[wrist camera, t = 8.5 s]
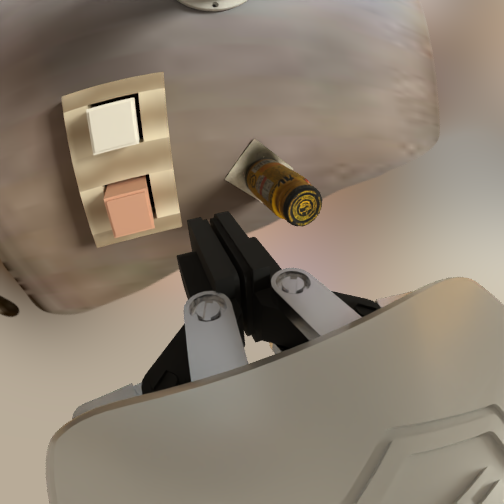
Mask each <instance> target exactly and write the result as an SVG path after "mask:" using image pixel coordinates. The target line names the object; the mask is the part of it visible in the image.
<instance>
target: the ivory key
mask: <svg viewBox="0 0 504 504" xmlns="http://www.w3.org/2000/svg"><path fill="white" fill-rule="evenodd" d="M86 112H87V120H88V126H89V133H90V139H91V144H92V150H93V155H97V154H100V153H104V152H108V151H111V150H115V149H119V148H123V147H127V146H132V145H136V144H139V130H138V122H137V114H136V105H135V98H129V99H125V100H120V101H116V102H112V103H108V104H104V105H100V106H97V107H93V108H90V109H86Z"/></svg>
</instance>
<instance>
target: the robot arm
mask: <svg viewBox="0 0 504 504" xmlns="http://www.w3.org/2000/svg"><path fill="white" fill-rule="evenodd" d="M178 1H179V2H180V3H182V4H184V5H186V6H188V7H191V8H194V9H197V10H203V11H224V10H228V9H232V8H235V7H237V6H240V5H241V4H243V3H245V2H246V1H247V0H178ZM212 5H214V6H215V7H213V6H212ZM187 223H188V230H189V236H190V241H191V247H192V252H189V253H185V254H181V255H177V260H178V265H179V269H180V273H181V277H182V281H183V285H184V288H185V292H186V295H187V298H188V301H187V302H186V304H185V306H184V320H185V324H184V325H183V326H182V328H181V329H180V330H179V332H178V333H177V334H176V336H175V337H174V338H173V339H172V341H171V342H170V343H169V345H168V346H167V347H166V349H165V350H164V351H163V352H162V354H161V355H160V356H159V358H158V359H157V360H156V362H155V363H154V364H153V365H152V367H151V368H150V369H149V371H148V372H147V374H146V375H145V377H144V379H143V380H142V382H141V383H139V384H137V385H135V386H133V384H129V385H127V386H125V387H122V388H120V389H118V390H115V391H113V392H111V393H109V394H106V395H104V396H101V397H99V398H97V399H94V400H92V401H89V402H87V403H85V404H82V405H81V406H79V407H78V408H77V409H76V411H75V412H74V414H73V418H72V420H71V421H69V422H68V423H66V424H65V425H64V426H62V427H61V428H60V429H59V430H58V431H57V432H56V433H55V434H54V436H53V437H52V438H51V440H50V443H49V445H48V449H47V456H46V481H47V492H48V497H49V503H50V504H504V305H503V304H502V303H501V302H500V301H499V300H498V299H497V298H495V297H494V296H493V295H492V294H491V293H490V292H489V291H487V290H486V289H485V288H484V287H482V286H481V285H480V284H478V283H477V282H475V281H474V280H472V279H469V278H464V277H453V278H446V279H442V280H439V281H436V282H433V283H430V284H428V285H426V286H424V287H421V288H420V289H417V290H415V291H413V292H407V293H403V294H399V295H394V296H390V297H385V298H381V299H376V301H375V302H373V301H371V300H368V299H365V298H360V297H355V296H351V295H347V294H342V293H338V292H333V291H330V290H329V289H328V288H326V287H325V286H324V285H323V284H322V283H320V282H319V281H318V280H317V279H316V278H315V277H313V276H312V275H311V274H309V273H308V272H306V271H304V270H301V269H297V268H286V269H283V270H282V269H281V268H280V267H279V265H278V264H277V263H276V262H275V260H274V259H273V258H272V257H271V256H270V254H269V253H268V252H267V251H266V249H265V248H264V247H263V246H262V244H261V243H260V242H259V241H258V240H257V238H255V237H252V238H249V237H248V236H247V235H246V234H245V232H244V231H243V230H242V228H241V227H240V226H239V224H238V223H237V222H236V221H235V219H234V218H233V217H232V215H231V214H230V213H229V212H228V211H227V212H222V213H217V214H215V215H214V218H211V219H210V224H209V222H208V221H207V219H206V220H202V218H201V217H199V218H195V219H190V220H187ZM210 225H211V226H210ZM244 331H245V333H246V335H247V336H250V335H252V337H253V339H254V340H255V342H258V341H261V340H263V341H266V342H269V343H270V347H271V349H272V350H273V351H274V353H275V355H272V356H270V357H267V358H264V359H261V360H259V361H256V362H253V363H250V364H248V361H247V357H246V354H245V350H244V347H245V340H244Z"/></svg>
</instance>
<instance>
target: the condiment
mask: <svg viewBox="0 0 504 504" xmlns="http://www.w3.org/2000/svg"><path fill="white" fill-rule="evenodd" d="M292 170H293V168H292V167H291V166H289V165H288V164H287V163H285V162H284V161H283V160H282V159H280V158H279V157H278V156H277V155H275V154H274V153H273V152H272V151H270V150H269V149H268V148H266V147H265V146H264V145H262V144H261V143H260V142H258V141H257V140H256V139H254V140H253V141H252V142H251V144H250V145H249V146H248V147H247V149H246V150H245V152H244V153H243V154H242V155H241V157H240V158H239V160H238V161H237V162H236V164H235V165H234V167H233V168H232V170H231V171H230V172H229V174H228V175H227V177H226V178H225V180H226V181H228V182H230V183H231V184H233V185H235V186H236V187H238V188H239V189H241V190H243V191H244V192H246V193H248V194H249V195H251V196H252V197H254V198H256V199H257V200H259V201H260V202H262V203H264V204H265V205H266V206H267V207H268V208H269V209H270V210H271V211H272V212H273V213H274V214H275V215H277V216H278V217H280V218H282V219H285V220H287V222H289V223H290V224H292V225H295V226H305V225H307V224H309V223H311V222H312V221H313V220H314V219H315V218H316V217H317V216H318V214H319V213H320V210H321V207H322V197H321V195H320V192H319V191H318V190H317V189H316V188H314V186H312V185H311V184H310V183H309V181H308V180H307V179H306V178H304V177H303V176H301V175H299V174H298V173H296V172H294V171H292ZM243 172H244V175H245V177H244V175H243Z"/></svg>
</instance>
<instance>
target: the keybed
mask: <svg viewBox="0 0 504 504" xmlns="http://www.w3.org/2000/svg"><path fill="white" fill-rule="evenodd" d="M133 94H138V95H139V105H140V114H141V123H142V131H143V138H139V144H136V145H132V146H127V147H123V148H119V149H115V150H111V151H108V152H104V153H100V154H97V155H93V150H92V144H91V139H90V133H89V126H88V120H87V112H86V109H90V108H93V104H96V103H100V102H103V101H107V100H111V99H115V98H119V97H124V96H128V95H133ZM62 106H63V113H64V120H65V127H66V133H67V139H68V144H69V149H70V154H71V159H72V163H73V168H74V172H75V176H76V180H77V184H78V188H79V192H80V196H81V199H82V203H83V206H84V210H85V213H86V216H87V219H88V223H89V226H90V229H91V232H92V235H93V238H94V241H95V243H96V246H97V248H99V247H103V246H107V245H110V244H114V243H118V242H122V241H125V240H129V239H133V238H137V237H141V236H145V235H149V234H153V233H157V232H161V231H166V230H170V229H174V228H178V227H182V222H181V216H180V210H179V204H178V198H177V191H176V185H175V178H174V171H173V163H172V155H171V147H170V139H169V130H168V120H167V110H166V99H165V87H164V72H159V73H152V74H147V75H141V76H136V77H131V78H126V79H122V80H118V81H113V82H109V83H105V84H101V85H98V86H94V87H91V88H87V89H84V90H81V91H77V92H74V93H71V94H68V95H65V96H63V97H62ZM147 174H149V177H150V183H151V188H152V193H153V199H154V204H155V207H152V213H153V219H154V225H155V228H153V229H149V230H145V231H141V232H137V233H133V234H129V235H126V236H122V237H118V238H114V234H113V231H112V228H111V224H110V221H109V217H108V214H107V210H106V207H105V203H104V196H105V192H106V189H107V184H111V183H114V182H118V181H122V180H126V179H130V178H134V177H138V176H143V175H147Z"/></svg>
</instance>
